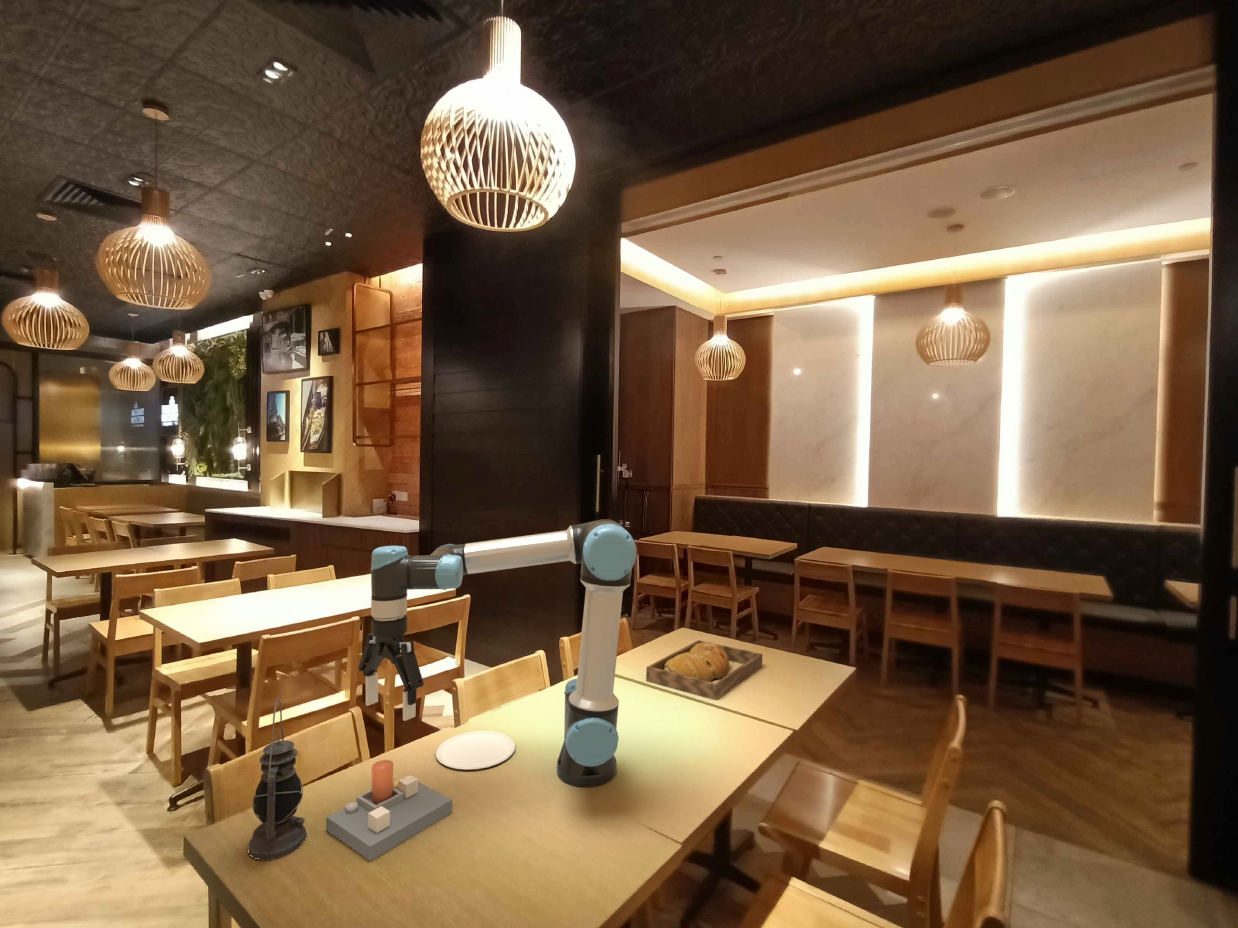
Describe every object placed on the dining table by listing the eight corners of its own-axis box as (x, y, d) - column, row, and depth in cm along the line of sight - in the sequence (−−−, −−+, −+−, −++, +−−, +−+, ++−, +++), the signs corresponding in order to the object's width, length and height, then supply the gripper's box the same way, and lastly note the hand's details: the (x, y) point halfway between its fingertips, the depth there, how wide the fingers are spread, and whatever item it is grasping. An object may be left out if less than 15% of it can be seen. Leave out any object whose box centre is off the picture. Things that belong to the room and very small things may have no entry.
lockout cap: (397, 799, 134) (397, 763, 134) (379, 808, 131) (379, 772, 130) (385, 792, 137) (385, 757, 137) (367, 801, 133) (367, 766, 133)
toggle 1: (389, 825, 125) (389, 811, 125) (376, 832, 122) (376, 818, 122) (381, 820, 126) (381, 805, 126) (368, 827, 124) (368, 812, 124)
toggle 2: (417, 792, 137) (417, 779, 137) (406, 798, 134) (406, 784, 134) (409, 787, 139) (409, 774, 139) (398, 793, 136) (398, 780, 136)
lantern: (299, 858, 119) (300, 707, 118) (238, 868, 116) (239, 713, 115) (312, 821, 131) (313, 683, 130) (257, 829, 128) (258, 688, 127)
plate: (446, 781, 148) (446, 776, 148) (428, 744, 166) (428, 740, 166) (526, 761, 158) (526, 756, 158) (501, 728, 177) (501, 724, 177)
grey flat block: (452, 812, 135) (452, 792, 135) (370, 861, 118) (370, 838, 118) (407, 788, 144) (408, 770, 144) (326, 830, 127) (326, 809, 127)
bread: (704, 692, 206) (705, 663, 206) (655, 678, 218) (656, 651, 218) (744, 666, 232) (744, 640, 232) (698, 655, 244) (698, 630, 244)
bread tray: (762, 666, 231) (762, 653, 231) (716, 700, 199) (716, 685, 199) (698, 652, 247) (698, 640, 247) (646, 681, 214) (646, 667, 214)
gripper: (440, 621, 131) (440, 718, 131) (371, 604, 145) (371, 692, 145) (410, 629, 124) (411, 731, 125) (341, 611, 138) (342, 703, 139)
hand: (390, 710), depth 135 cm, fingers open, 13 cm apart
